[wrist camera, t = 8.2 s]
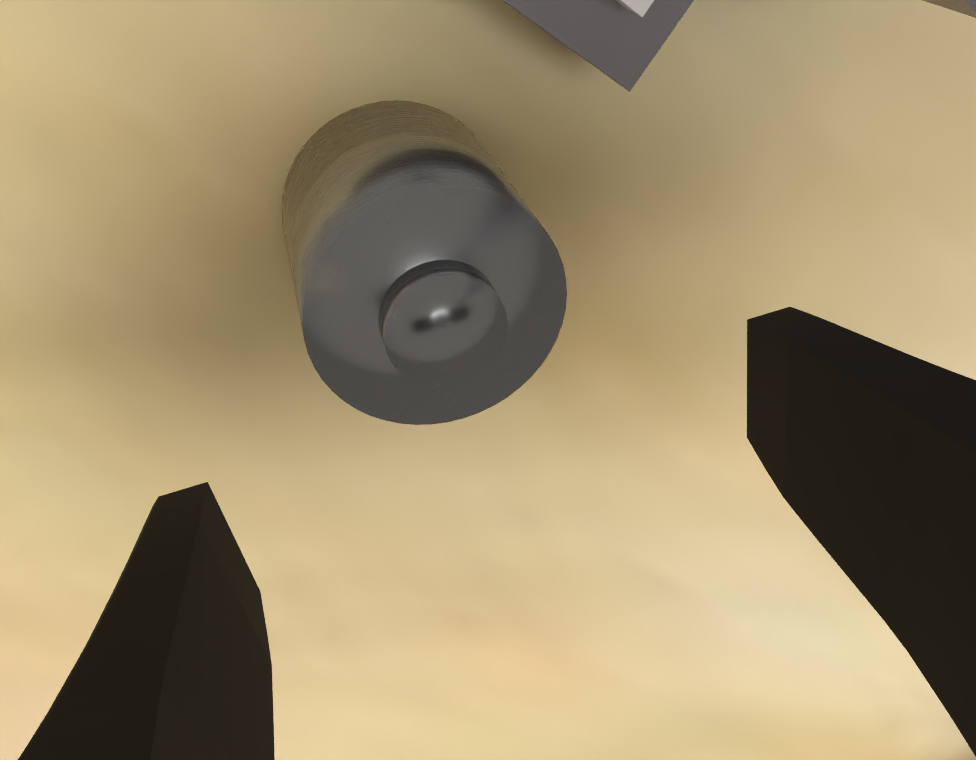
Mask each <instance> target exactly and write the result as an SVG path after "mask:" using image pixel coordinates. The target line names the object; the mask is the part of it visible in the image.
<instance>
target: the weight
mask: <svg viewBox="0 0 976 760" xmlns="http://www.w3.org/2000/svg"><path fill="white" fill-rule="evenodd" d="M282 216H283V224H284V231H285V236H286V242H287V247H288V253H289V258H290V264H291V269H292V275H293V280H294V286H295V291H296V297H297V302H298V308H299V313H300V319H301V324H302V330H303V335H304V340H305V343H306V347H307V351H308V354H309V356H310V359H311V361H312V363H313V365H314V367H315V369H316V371H317V372H318V374H319V375H320V377H321V378H322V380H323V381H324V382H325V383H326V384H327V386H328V387H329V388H330V389H331V390H332V391H333V392H334V393H335V394H336V395H338V396H339V397H340V398H341V399H342V400H343V401H345V402H346V403H348V404H349V405H351V406H353V407H354V408H356V409H358V410H360V411H362V412H364V413H366V414H368V415H370V416H373V417H376V418H379V419H383V420H386V421H391V422H396V423H402V424H415V425H420V424H437V423H444V422H450V421H454V420H458V419H462V418H465V417H468V416H471V415H474V414H476V413H479V412H481V411H483V410H485V409H487V408H490V407H492V406H494V405H495V404H497V403H499V402H500V401H502V400H503V399H505V398H507V397H508V396H509V395H511V394H512V393H513V392H515V391H516V390H517V389H519V388H520V387H521V386H522V385H523V384H524V383H525V382H526V381H527V380H528V379H529V378H530V377H531V376H532V375H533V374H534V373H535V372H536V370H537V369H538V368H539V367H540V366H541V365H542V363H543V362H544V360H545V359H546V357H547V356H548V354H549V353H550V351H551V349H552V347H553V345H554V343H555V341H556V339H557V337H558V334H559V331H560V328H561V326H562V323H563V318H564V313H565V309H566V297H567V289H566V277H565V272H564V268H563V263H562V261H561V258H560V256H559V253H558V250H557V248H556V247H555V245H554V243H553V241H552V239H551V238H550V236H549V235H548V233H547V232H546V231H545V229H544V228H543V227H542V225H541V224H540V223H539V221H538V220H537V219H536V217H535V216H534V215H533V213H532V212H531V211H530V209H529V208H528V206H527V205H526V204H525V202H524V201H523V200H522V198H521V197H520V196H519V194H518V193H517V192H516V190H515V189H514V188H513V186H512V185H511V184H510V182H509V181H508V180H507V178H506V177H505V175H504V174H503V173H502V171H501V170H500V169H499V167H498V166H497V165H496V163H495V162H494V161H493V159H492V158H491V157H490V155H489V154H488V153H487V151H486V150H485V149H484V147H483V146H482V145H481V143H480V142H479V141H478V139H477V138H476V137H475V136H474V134H473V133H472V132H471V131H470V130H468V129H467V128H466V127H465V126H464V125H463V124H462V123H460V122H459V121H458V120H456V119H455V118H453V117H452V116H450V115H448V114H446V113H444V112H442V111H441V110H438V109H436V108H433V107H430V106H427V105H423V104H419V103H414V102H406V101H384V102H377V103H372V104H367V105H363V106H360V107H357V108H354V109H352V110H349V111H347V112H345V113H343V114H341V115H339V116H337V117H336V118H334V119H333V120H331V121H330V122H328V123H327V124H325V125H324V126H323V127H322V128H321V129H319V130H318V131H317V132H316V133H315V134H314V135H313V136H312V137H311V138H310V139H309V140H308V142H307V143H306V144H305V145H304V146H303V148H302V149H301V151H300V152H299V154H298V155H297V157H296V158H295V160H294V162H293V165H292V167H291V169H290V171H289V174H288V177H287V180H286V183H285V187H284V193H283V200H282Z"/></svg>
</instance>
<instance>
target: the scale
mask: <svg viewBox="0 0 976 760" xmlns="http://www.w3.org/2000/svg"><path fill="white" fill-rule="evenodd" d="M503 1H505V2H506V3H508V4H509V5H510V6H512V7H513V8H515V9H516V10H517V11H519V12H520V13H521V14H523V15H524V16H526V17H527V18H528V19H530V20H531V21H532V22H534V23H535V24H537V25H538V26H539V27H541V28H542V29H544V30H545V31H546V32H548V33H549V34H550V35H552V36H553V37H555V38H556V39H557V40H559V41H560V42H561V43H563V44H564V45H566V46H567V47H568V48H570V49H571V50H573V51H574V52H575V53H577V54H578V55H579V56H581V57H582V58H584V59H585V60H586V61H588V62H589V63H590V64H592V65H593V66H595V67H596V68H597V69H599V70H600V71H602V72H603V73H604V74H606V75H607V76H608V77H610V78H611V79H613V80H614V81H615V82H617V83H618V84H619V85H621V86H622V87H624V88H625V89H626V90H628V91H629V92H630V90H631V89H632V88H633V86H634V85H635V83H636V82H637V80H638V79H639V78H640V76H641V75H642V73H643V72H644V70H645V69H646V68H647V66H648V65H649V63H650V62H651V60H652V59H653V58H654V56H655V55H656V53H657V52H658V50H659V49H660V48H661V46H662V45H663V43H664V42H665V41H666V39H667V38H668V36H669V35H670V33H671V32H672V31H673V29H674V28H675V26H676V25H677V23H678V22H679V21H680V19H681V18H682V16H683V15H684V13H685V12H686V11H687V9H688V8H689V6H690V5H691V4H692V2H693V1H694V0H503ZM923 1H926V2H929V3H932V4H935V5H939V6H942V7H945V8H948V9H951V10H954V11H957V12H960V13H963V14H966V15H969V16H972V17H975V18H976V0H923Z"/></svg>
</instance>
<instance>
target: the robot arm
mask: <svg viewBox="0 0 976 760" xmlns="http://www.w3.org/2000/svg"><path fill="white" fill-rule="evenodd" d="M747 438H748V440H749V442H750V443H751V445H752V447H753V448H754V450H755V452H756V454H757V455H758V457H759V459H760V460H761V462H762V464H763V465H764V467H765V469H766V471H767V472H768V474H769V475H770V477H771V478H772V480H773V482H774V483H775V485H776V486H777V488H778V489H779V491H780V493H781V494H782V496H783V497H784V499H785V500H786V501H787V502H788V504H789V505H790V506H791V507H792V509H793V510H794V511H795V513H796V514H797V515H798V516H799V517H800V519H801V520H802V521H803V522H804V524H805V525H806V526H807V527H808V529H809V530H810V531H811V532H812V534H813V535H814V536H815V537H816V538H817V540H818V541H819V542H820V543H821V545H822V546H823V547H824V548H825V549H826V551H827V552H828V553H829V554H830V555H831V557H832V558H833V559H834V560H835V562H836V563H837V564H838V565H839V566H840V568H841V569H842V570H843V571H844V572H845V574H846V575H847V576H848V577H849V579H850V580H851V581H852V582H853V583H854V585H855V586H856V587H857V588H858V589H859V591H860V592H861V593H862V594H863V595H864V597H865V598H866V599H867V600H868V602H869V603H870V604H871V605H872V606H873V608H874V609H875V610H876V611H877V612H878V614H879V615H880V616H881V617H882V619H883V620H884V621H885V622H886V624H887V625H888V626H889V627H890V629H891V630H892V631H893V633H894V634H895V635H896V637H897V638H898V639H899V641H900V642H901V643H902V645H903V646H904V647H905V649H906V650H907V651H908V653H909V654H910V656H911V657H912V659H913V660H914V662H915V663H916V665H917V666H918V668H919V669H920V671H921V672H922V674H923V675H924V677H925V678H926V680H927V681H928V683H929V684H930V686H931V688H932V689H933V691H934V692H935V694H936V695H937V697H938V698H939V700H940V701H941V703H942V704H943V706H944V707H945V709H946V710H947V712H948V713H949V715H950V716H951V718H952V719H953V721H954V723H955V724H956V726H957V727H958V729H959V731H960V732H961V734H962V735H963V737H964V739H965V740H966V742H967V743H968V745H969V747H970V748H971V750H972V751H973V753H974V755H975V756H976V380H973V379H971V378H968V377H965V376H963V375H960V374H957V373H955V372H952V371H949V370H947V369H944V368H941V367H939V366H936V365H934V364H931V363H929V362H926V361H924V360H921V359H919V358H916V357H914V356H911V355H909V354H906V353H904V352H901V351H899V350H896V349H894V348H892V347H889V346H887V345H884V344H882V343H880V342H877V341H875V340H872V339H870V338H868V337H865V336H863V335H860V334H858V333H856V332H853V331H851V330H848V329H846V328H843V327H841V326H839V325H836V324H834V323H831V322H829V321H826V320H824V319H821V318H819V317H816V316H814V315H811V314H809V313H806V312H803V311H800V310H798V309H795V308H792V307H788V308H784V309H781V310H778V311H774V312H771V313H768V314H764V315H761V316H758V317H754V318H751V319H748V320H747ZM18 760H274V724H273V692H272V664H271V657H270V650H269V643H268V637H267V630H266V624H265V618H264V612H263V605H262V599H261V593H260V590H259V588H258V586H257V584H256V582H255V580H254V578H253V575H252V573H251V571H250V569H249V567H248V565H247V563H246V561H245V559H244V557H243V555H242V553H241V551H240V548H239V546H238V544H237V542H236V540H235V538H234V536H233V534H232V532H231V530H230V528H229V526H228V523H227V521H226V519H225V517H224V515H223V513H222V511H221V509H220V507H219V505H218V503H217V501H216V499H215V496H214V494H213V492H212V490H211V488H210V486H209V484H208V482H206V483H202V484H199V485H196V486H193V487H189V488H186V489H183V490H179V491H176V492H173V493H169V494H166V495H163V496H159V497H158V498H157V500H156V502H155V503H154V505H153V507H152V509H151V511H150V513H149V516H148V518H147V520H146V522H145V524H144V526H143V529H142V531H141V533H140V535H139V537H138V540H137V542H136V544H135V546H134V548H133V551H132V553H131V555H130V557H129V559H128V561H127V563H126V566H125V568H124V570H123V572H122V574H121V576H120V578H119V580H118V583H117V585H116V587H115V589H114V591H113V593H112V595H111V597H110V599H109V601H108V603H107V605H106V607H105V609H104V611H103V613H102V615H101V617H100V619H99V620H98V622H97V624H96V626H95V628H94V630H93V632H92V634H91V636H90V638H89V640H88V642H87V644H86V646H85V648H84V650H83V651H82V653H81V655H80V657H79V659H78V660H77V662H76V664H75V666H74V667H73V669H72V671H71V673H70V674H69V676H68V678H67V680H66V681H65V683H64V685H63V687H62V688H61V690H60V692H59V694H58V695H57V697H56V699H55V701H54V702H53V704H52V706H51V708H50V709H49V711H48V713H47V714H46V716H45V718H44V719H43V721H42V723H41V724H40V726H39V727H38V729H37V731H36V732H35V734H34V735H33V737H32V739H31V740H30V742H29V743H28V745H27V747H26V748H25V750H24V751H23V753H22V754H21V756H20V757H19V759H18Z"/></svg>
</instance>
